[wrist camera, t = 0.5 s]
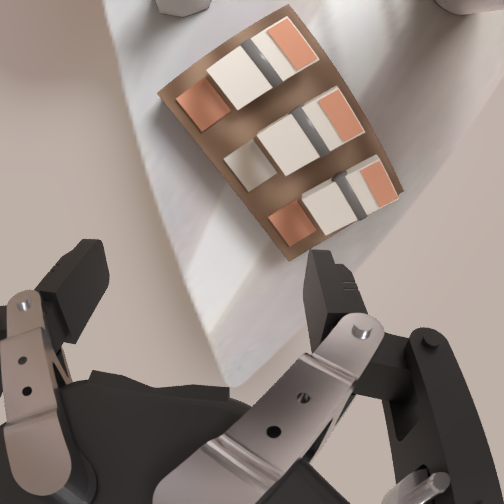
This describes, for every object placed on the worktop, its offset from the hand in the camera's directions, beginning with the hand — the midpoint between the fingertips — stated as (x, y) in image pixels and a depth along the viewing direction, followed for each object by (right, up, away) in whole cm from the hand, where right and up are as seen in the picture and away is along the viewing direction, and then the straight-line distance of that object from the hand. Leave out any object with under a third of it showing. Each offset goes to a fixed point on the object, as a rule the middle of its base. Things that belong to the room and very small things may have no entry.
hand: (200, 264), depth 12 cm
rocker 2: (+7, +12, +17) cm, 22 cm away
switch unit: (+6, +14, +23) cm, 27 cm away
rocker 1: (+3, +18, +14) cm, 22 cm away
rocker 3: (+12, +6, +20) cm, 24 cm away
